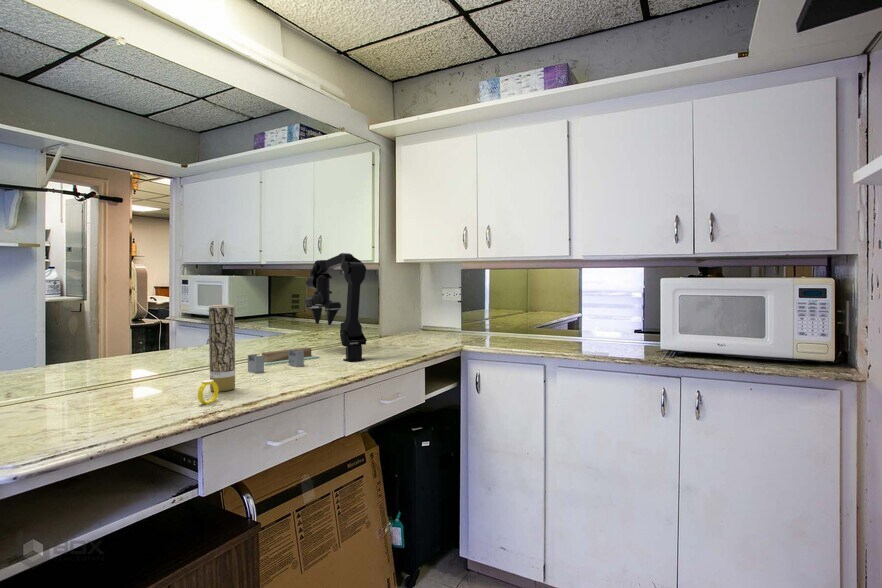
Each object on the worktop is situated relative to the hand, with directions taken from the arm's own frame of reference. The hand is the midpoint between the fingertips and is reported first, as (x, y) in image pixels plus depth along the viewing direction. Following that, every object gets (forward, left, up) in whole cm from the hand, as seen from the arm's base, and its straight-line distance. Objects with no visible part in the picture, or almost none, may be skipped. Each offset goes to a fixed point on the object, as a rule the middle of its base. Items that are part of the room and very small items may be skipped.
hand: (323, 324), depth 208 cm
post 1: (-17, +40, -13) cm, 45 cm away
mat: (-4, +20, -13) cm, 24 cm away
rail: (-4, +20, -12) cm, 24 cm away
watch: (-48, +69, -13) cm, 85 cm away
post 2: (-17, +24, -13) cm, 32 cm away
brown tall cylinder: (-36, +60, -13) cm, 71 cm away
